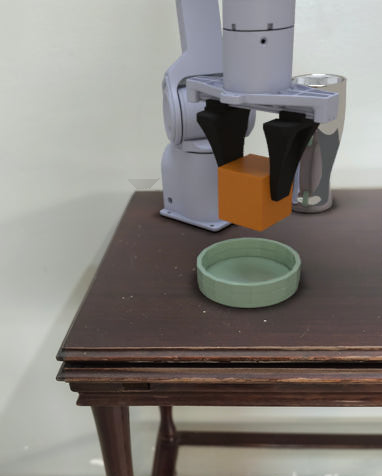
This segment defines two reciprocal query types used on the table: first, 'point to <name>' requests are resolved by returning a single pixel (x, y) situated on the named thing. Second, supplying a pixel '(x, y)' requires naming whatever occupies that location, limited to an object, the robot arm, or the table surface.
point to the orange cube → (249, 194)
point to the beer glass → (319, 150)
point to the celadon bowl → (248, 272)
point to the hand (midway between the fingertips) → (255, 191)
